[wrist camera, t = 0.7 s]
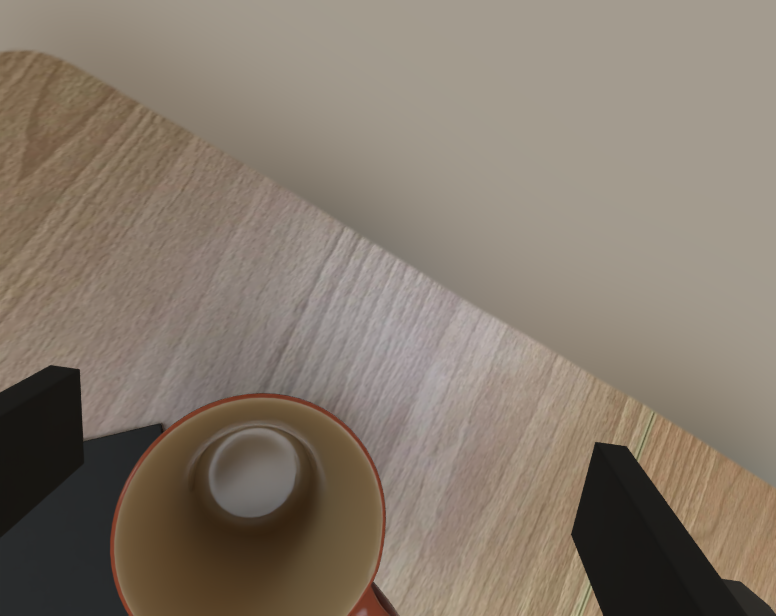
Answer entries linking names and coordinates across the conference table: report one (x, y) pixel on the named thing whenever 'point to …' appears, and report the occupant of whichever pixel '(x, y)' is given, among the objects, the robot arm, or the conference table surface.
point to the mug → (252, 516)
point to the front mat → (72, 537)
